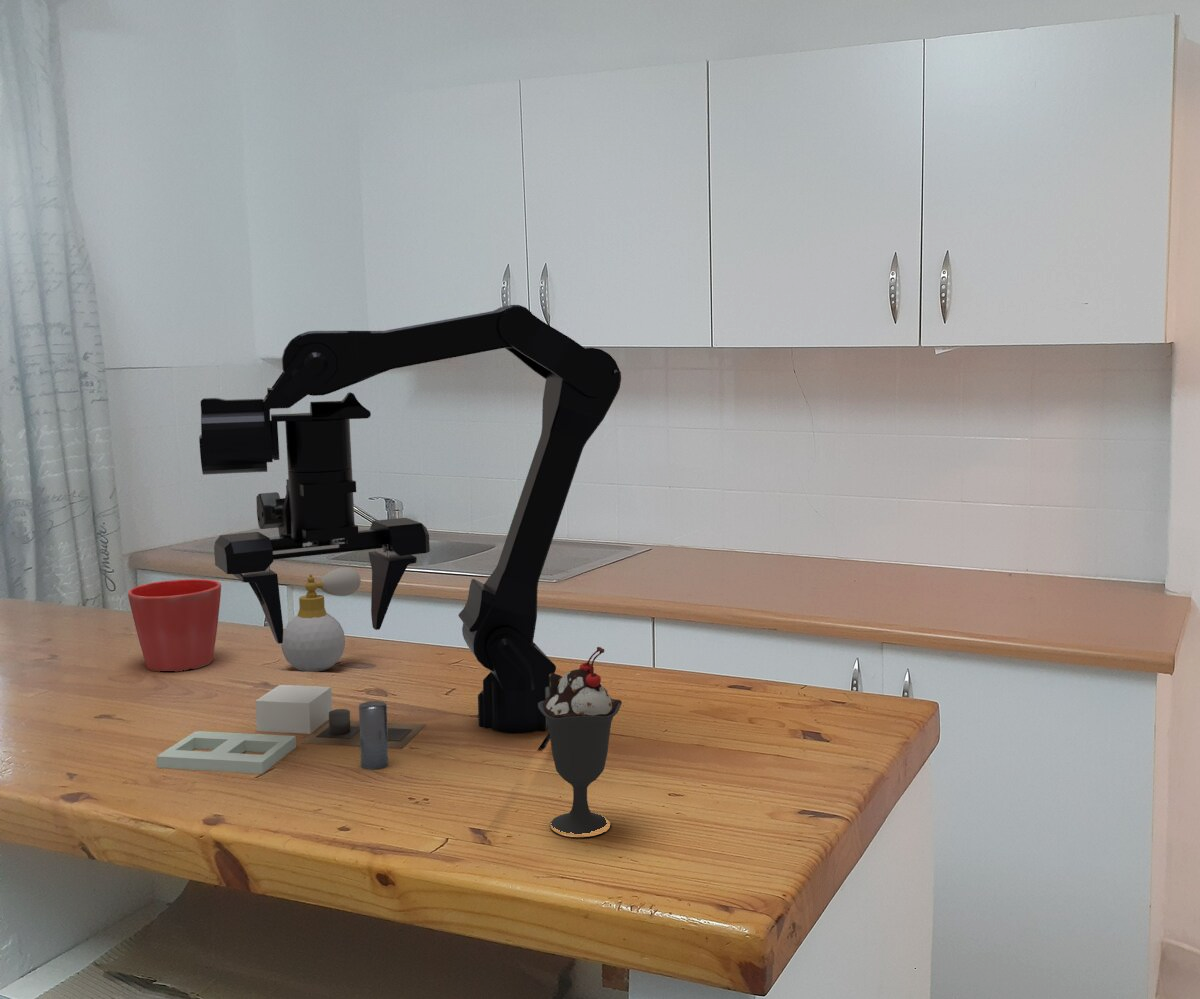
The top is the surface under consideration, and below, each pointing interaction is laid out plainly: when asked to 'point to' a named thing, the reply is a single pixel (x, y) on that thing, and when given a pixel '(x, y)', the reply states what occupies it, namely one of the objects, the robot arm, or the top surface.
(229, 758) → the board
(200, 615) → the flower pot
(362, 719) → the peg
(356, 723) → the board
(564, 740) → the sundae
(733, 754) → the top surface
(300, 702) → the white rectangular block
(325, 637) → the perfume bottle
